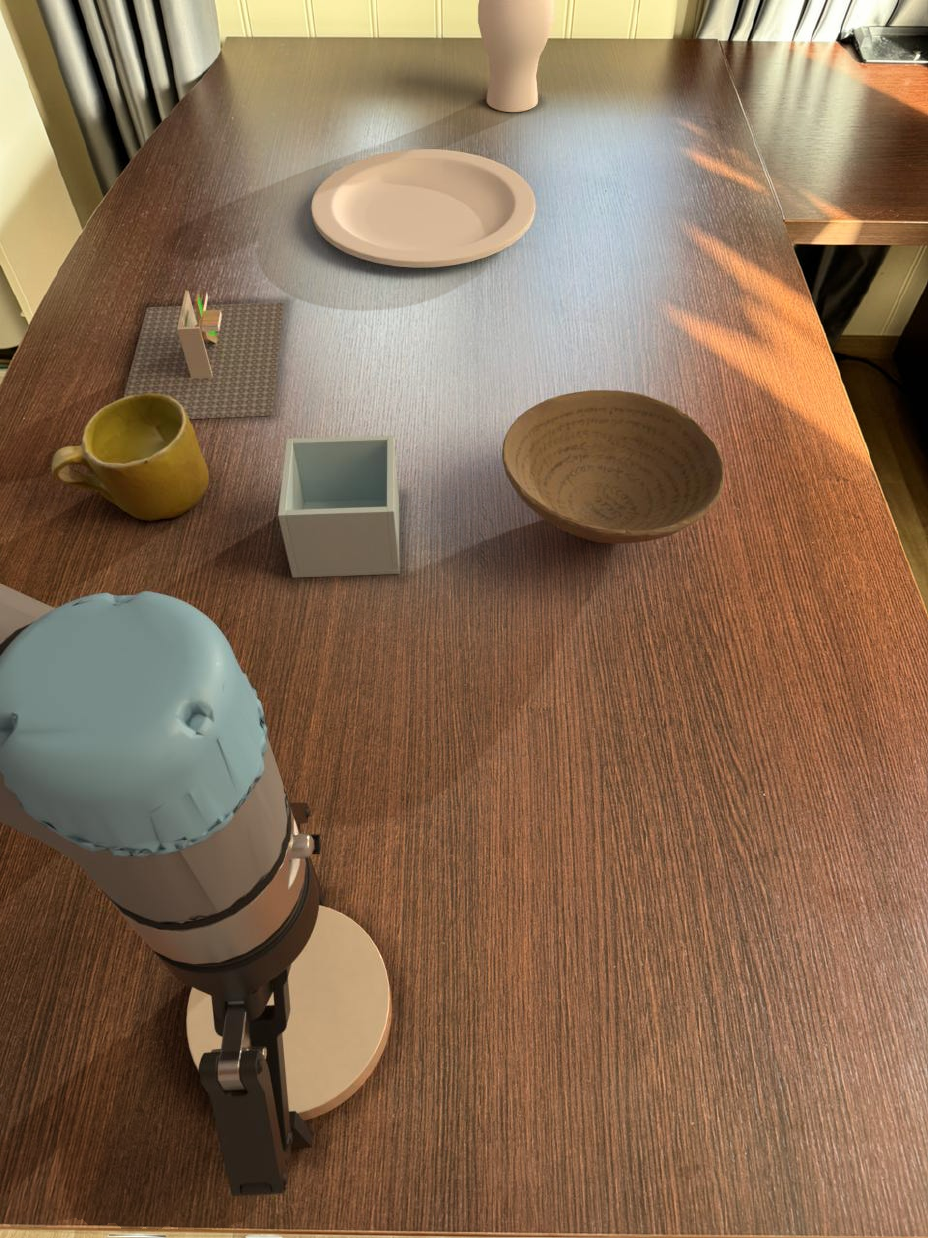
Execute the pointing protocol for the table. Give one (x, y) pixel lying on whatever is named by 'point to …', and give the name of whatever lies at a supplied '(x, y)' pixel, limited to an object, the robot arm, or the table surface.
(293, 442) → the container
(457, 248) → the plate
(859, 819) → the table surface
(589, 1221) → the table surface
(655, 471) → the bowl
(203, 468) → the mug
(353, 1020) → the small plate
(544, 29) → the cup
